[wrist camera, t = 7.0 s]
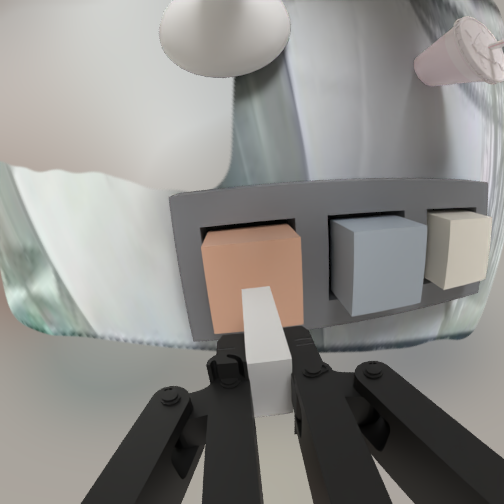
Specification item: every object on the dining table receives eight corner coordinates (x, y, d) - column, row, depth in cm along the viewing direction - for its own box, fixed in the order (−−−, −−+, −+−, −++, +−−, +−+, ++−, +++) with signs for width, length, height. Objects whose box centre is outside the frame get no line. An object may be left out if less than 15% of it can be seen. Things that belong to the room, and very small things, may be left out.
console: (179, 193, 24) (168, 197, 20) (463, 179, 25) (487, 182, 21) (198, 319, 27) (193, 341, 23) (457, 280, 28) (477, 292, 24)
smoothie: (455, 93, 22) (548, 75, 9) (420, 103, 23) (522, 79, 9) (431, 42, 21) (514, 4, 7) (392, 48, 21) (479, -4, 7)
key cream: (417, 210, 24) (450, 220, 19) (459, 208, 24) (492, 217, 19) (414, 271, 25) (443, 289, 20) (455, 264, 25) (485, 279, 21)
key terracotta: (208, 230, 22) (200, 247, 17) (286, 223, 22) (300, 237, 17) (218, 302, 24) (214, 333, 19) (290, 294, 24) (303, 324, 19)
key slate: (330, 219, 22) (353, 232, 17) (394, 214, 22) (427, 225, 18) (330, 289, 24) (351, 316, 19) (391, 280, 24) (420, 302, 19)
